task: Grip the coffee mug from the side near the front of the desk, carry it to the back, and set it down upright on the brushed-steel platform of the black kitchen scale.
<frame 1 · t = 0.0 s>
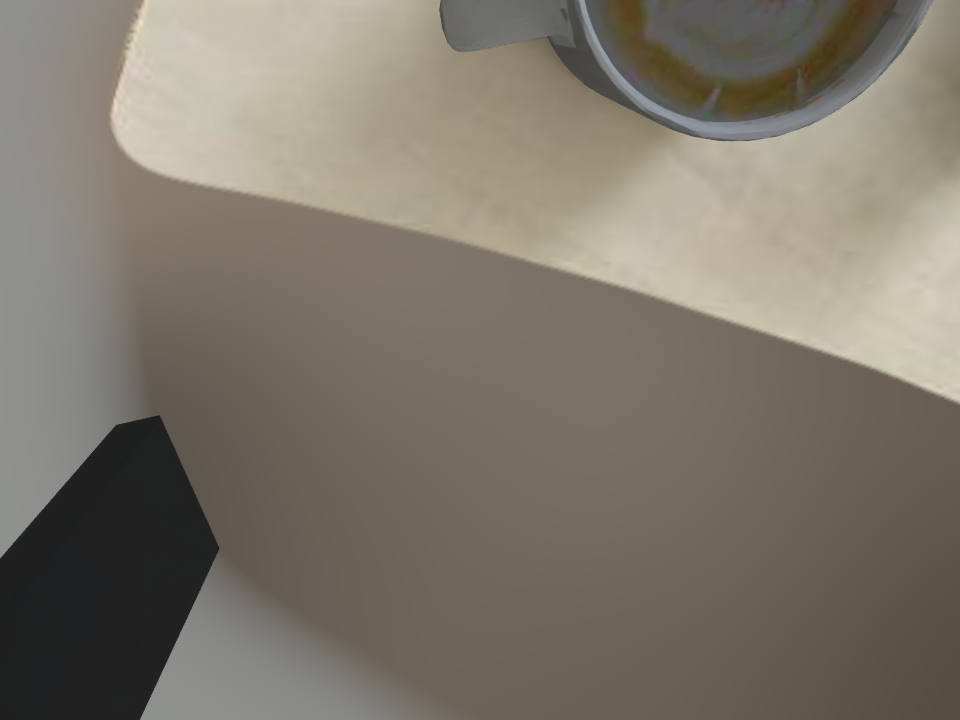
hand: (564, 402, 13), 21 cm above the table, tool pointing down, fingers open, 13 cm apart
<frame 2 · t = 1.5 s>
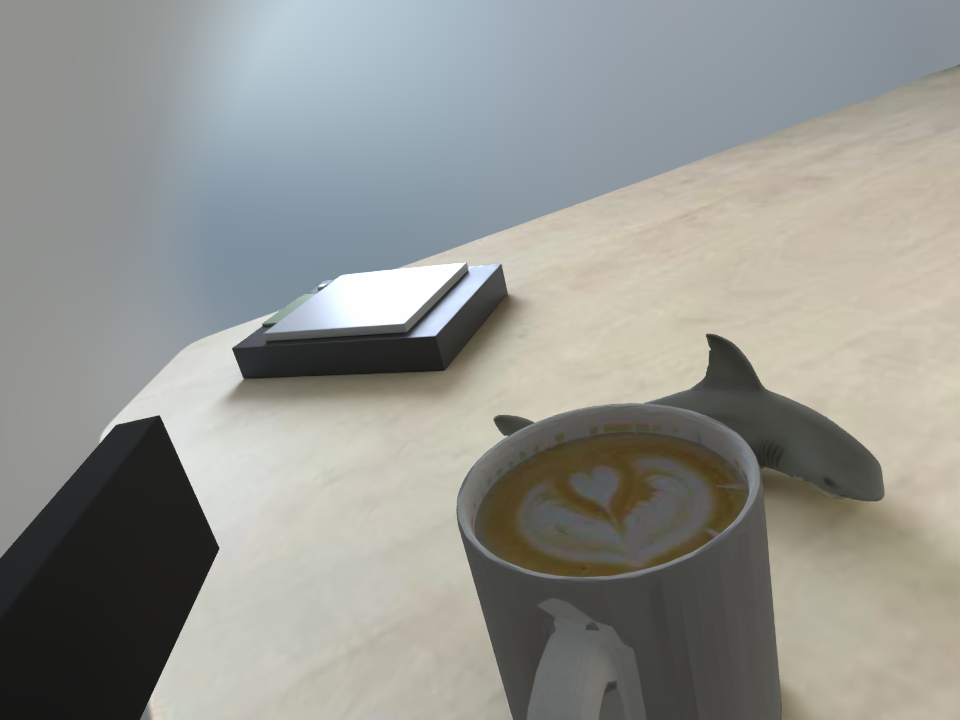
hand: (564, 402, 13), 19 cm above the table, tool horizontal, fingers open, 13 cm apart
shark figurine: (720, 481, 41), on the table
scale: (380, 334, 72), on the table
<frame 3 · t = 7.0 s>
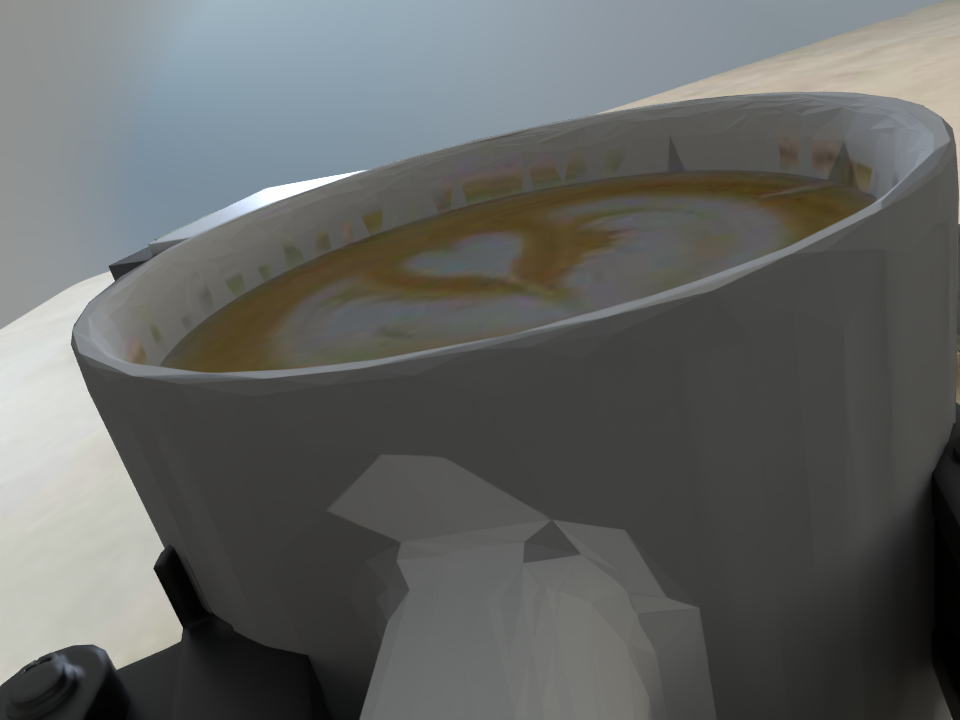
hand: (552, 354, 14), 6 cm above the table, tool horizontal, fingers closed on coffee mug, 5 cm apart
shark figurine: (792, 369, 25), on the table
scale: (308, 251, 55), on the table
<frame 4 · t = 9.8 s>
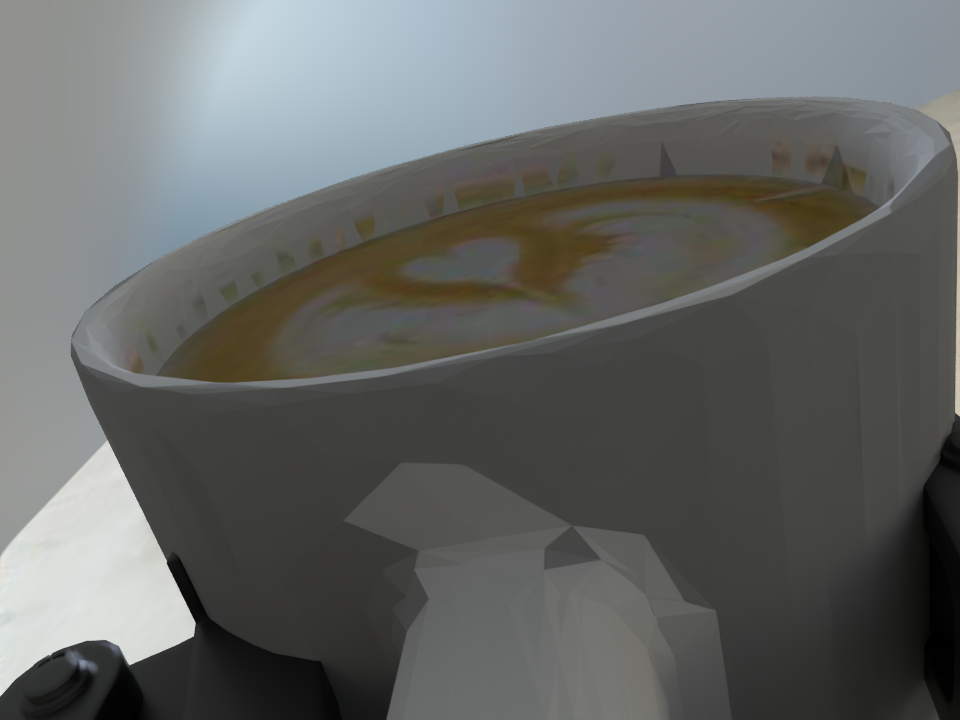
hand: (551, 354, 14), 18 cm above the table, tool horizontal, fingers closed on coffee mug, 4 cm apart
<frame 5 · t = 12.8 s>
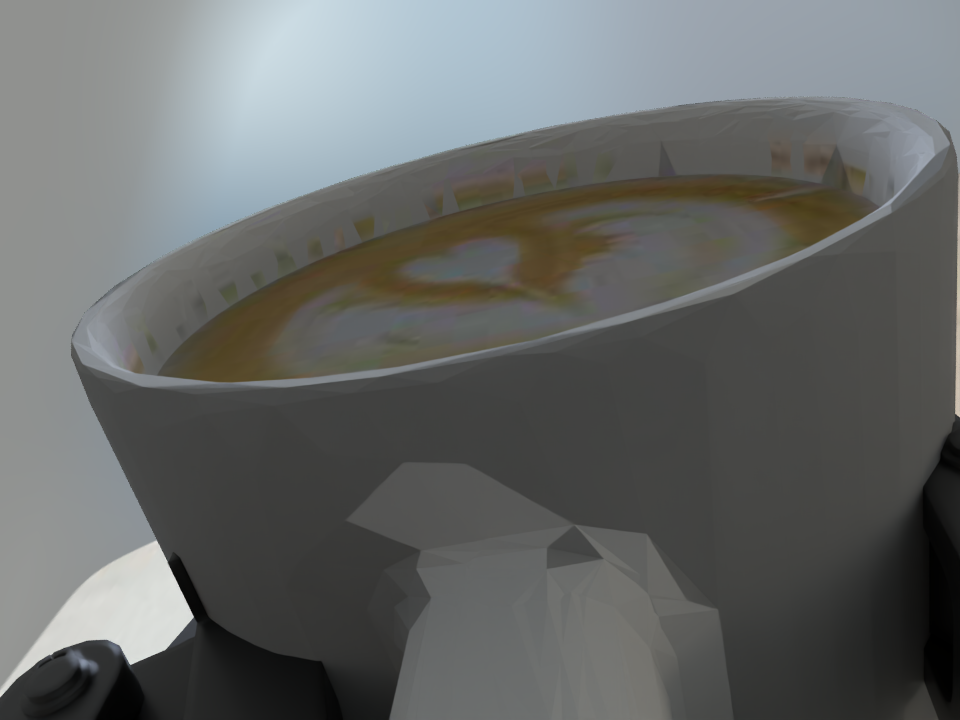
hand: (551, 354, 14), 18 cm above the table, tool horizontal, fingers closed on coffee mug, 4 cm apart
scale: (451, 606, 36), on the table
when the fingers open (10 cm above the table, at t = 17.9 s): coffee mug stays where it is, resting on scale.
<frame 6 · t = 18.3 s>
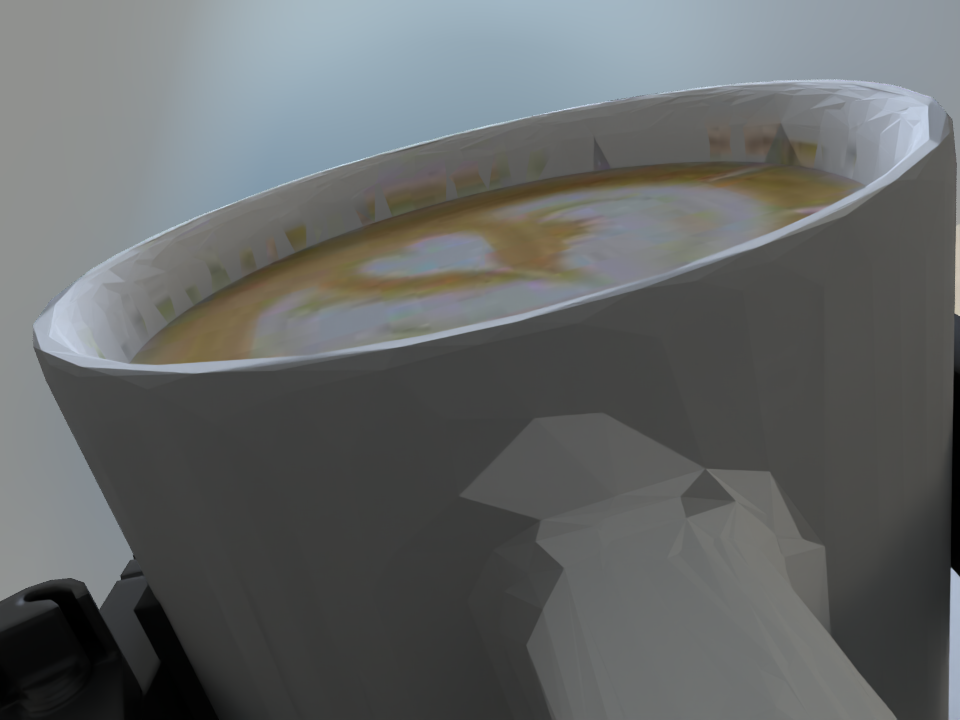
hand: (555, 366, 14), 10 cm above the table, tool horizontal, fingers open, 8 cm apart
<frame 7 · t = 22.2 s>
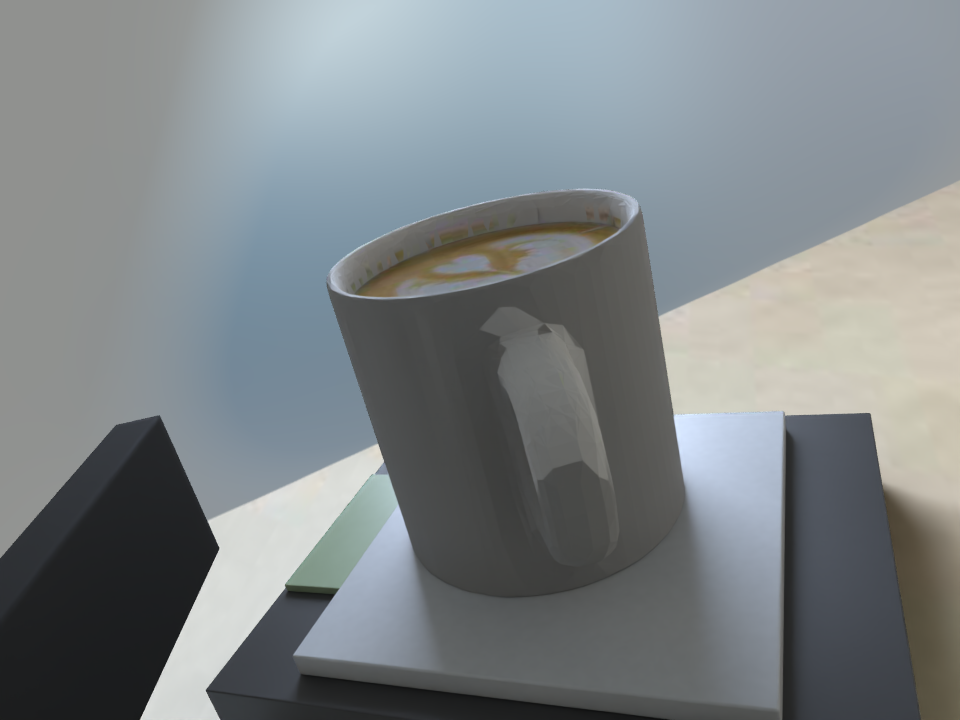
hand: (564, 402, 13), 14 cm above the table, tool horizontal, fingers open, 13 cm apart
coffee mug: (546, 534, 27), point 4 cm above the table, touching scale
scale: (585, 604, 28), on the table
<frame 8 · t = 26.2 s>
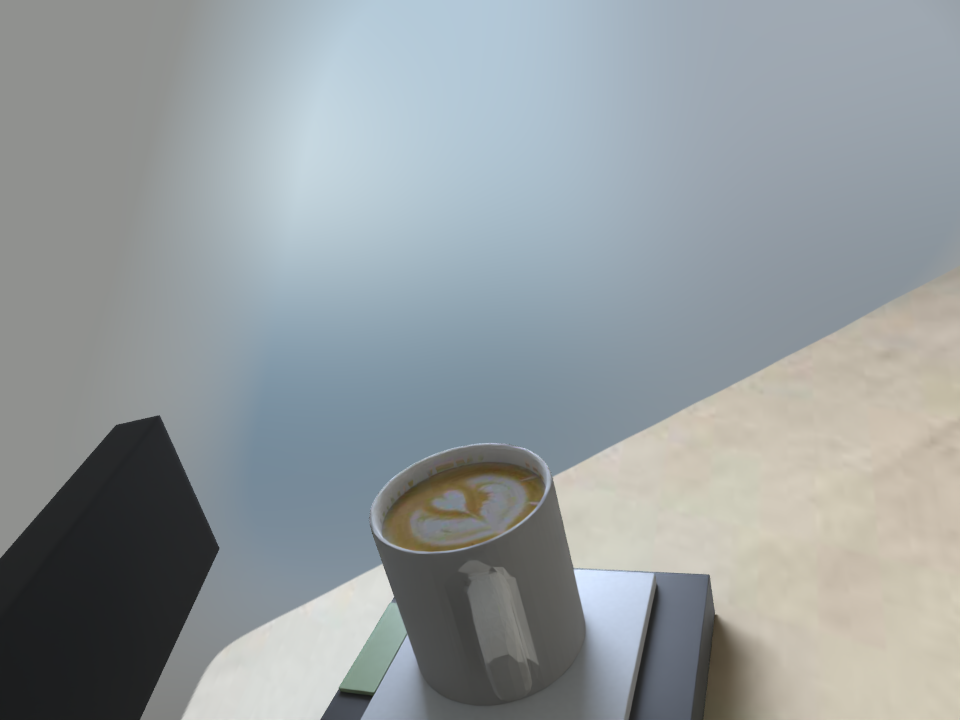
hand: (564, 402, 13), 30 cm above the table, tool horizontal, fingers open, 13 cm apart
coffee mug: (500, 660, 43), point 4 cm above the table, touching scale
scale: (526, 699, 45), on the table
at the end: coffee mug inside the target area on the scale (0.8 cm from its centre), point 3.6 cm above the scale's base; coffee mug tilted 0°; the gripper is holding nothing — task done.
